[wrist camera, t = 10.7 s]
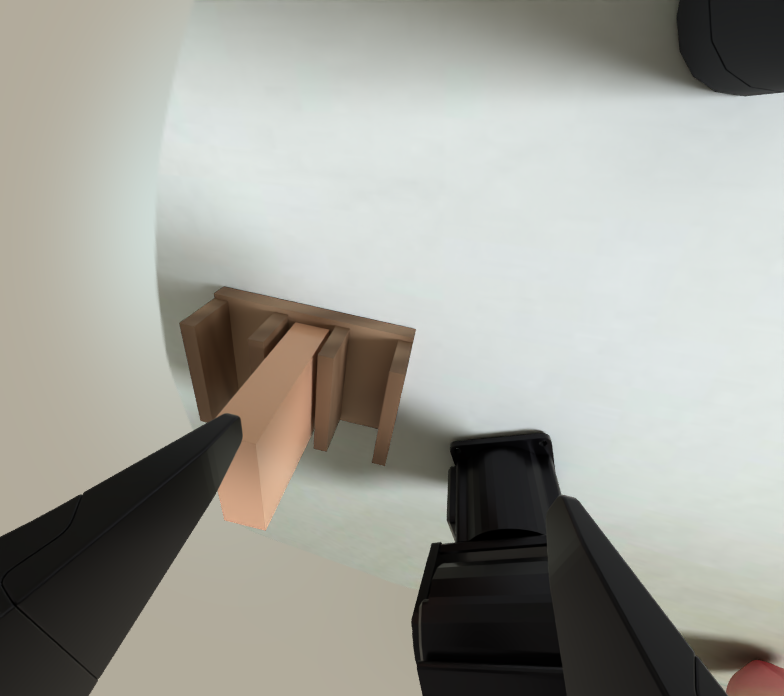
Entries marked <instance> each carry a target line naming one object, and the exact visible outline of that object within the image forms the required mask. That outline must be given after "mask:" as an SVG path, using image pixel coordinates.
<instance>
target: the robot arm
mask: <svg viewBox="0 0 784 696" xmlns="http://www.w3.org/2000/svg"><path fill="white" fill-rule="evenodd" d="M242 438H243V432H242V424H241V418H240V417H239V416H238V415H234V414H229V413H225V414H222V415H220V416H218V417H217V418H215V419H213V420H211V421H210V422H208V423H206V424H204V425H202V426H201V427H199V428H197V429H195V430H194V431H192V432H190V433H188V434H187V435H185V436H183V437H182V438H180V439H178V440H176V441H174V442H172V443H171V444H169V445H167V446H165V447H164V448H162V449H160V450H158V451H156V452H155V453H153V454H151V455H149V456H148V457H146V458H144V459H142V460H140V461H139V462H137V463H135V464H133V465H131V466H130V467H128V468H126V469H124V470H123V471H121V472H119V473H117V474H115V475H114V476H112V477H110V478H108V479H107V480H105V481H103V482H101V483H100V484H98V485H96V486H94V487H92V488H91V489H89V490H87V491H85V492H84V493H83V495H78V496H76V497H75V498H73V499H71V500H69V501H67V502H66V503H64V504H62V505H60V506H58V507H57V508H55V509H53V510H51V511H49V512H47V513H46V514H44V515H42V516H40V517H39V518H36V519H34V520H33V521H31V522H29V523H27V524H25V525H23V526H21V527H19V528H17V529H15V530H13V531H11V532H9V533H7V534H5V535H3V536H1V537H0V696H89V694H90V693H91V691H92V690H93V688H94V686H95V685H96V683H97V681H98V679H99V678H100V676H101V675H102V673H103V672H104V670H105V668H106V667H107V665H108V664H109V662H110V660H111V659H112V657H113V656H114V654H115V653H116V651H117V649H118V648H119V646H120V645H121V643H122V642H123V640H124V638H125V637H126V635H127V634H128V632H129V630H130V629H131V627H132V626H133V624H134V622H135V621H136V620H137V618H138V616H139V615H140V613H141V612H142V610H143V608H144V607H145V605H146V604H147V602H148V600H149V599H150V597H151V596H152V594H153V593H154V591H155V589H156V588H157V586H158V585H159V583H160V582H161V580H162V578H163V577H164V575H165V573H166V572H167V570H168V569H169V567H170V565H171V564H172V563H173V561H174V559H175V558H176V556H177V555H178V553H179V551H180V550H181V548H182V547H183V545H184V543H185V542H186V540H187V539H188V537H189V535H190V534H191V533H192V531H193V529H194V528H195V526H196V525H197V523H198V521H199V520H200V518H201V517H202V515H203V513H204V512H205V510H206V509H207V507H208V506H209V504H210V502H211V501H212V499H213V498H214V496H215V494H216V492H217V491H218V489H219V487H220V485H221V483H222V481H223V479H224V477H225V475H226V473H227V471H228V469H229V467H230V465H231V463H232V461H233V459H234V457H235V454H236V452H237V450H238V448H239V446H240V444H241V442H242ZM541 441H543V442H541ZM456 448H459V449H456ZM450 452H451V455H452V458H453V461H454V464H455V466H453V467H450V469H449V471H448V498H447V522H448V525H449V527H450V530H451V532H452V535H453V537H454V540H455V543H446V544H442V543H441V542H438V543H432V544H431V548H430V552H429V556H428V559H427V562H426V566H425V570H424V574H423V578H422V582H421V585H420V589H419V593H418V597H417V601H416V604H415V608H414V612H413V616H412V621H411V623H412V630H413V631H412V637H413V647H414V654H415V661H416V664H417V671H418V676H419V681H420V685H421V690H422V695H423V696H728V695H727V693H726V692H725V691H724V690H723V688H722V687H721V686H720V684H719V683H718V682H717V681H716V679H715V678H714V677H713V675H712V674H711V673H710V672H709V670H708V669H707V668H706V666H705V665H704V664H703V662H702V661H701V660H700V658H699V657H697V656H695V652H694V651H693V650H692V648H691V647H690V646H689V644H688V643H687V642H686V640H685V639H684V638H683V636H682V635H681V634H680V633H679V631H678V630H677V629H676V627H675V626H674V625H673V623H672V622H671V621H670V619H669V618H668V617H667V616H666V614H665V613H664V612H663V610H662V609H661V608H660V606H659V605H658V604H657V602H656V601H655V600H654V599H653V597H652V596H651V595H650V593H649V592H648V591H647V589H646V588H645V587H644V585H643V584H642V583H641V582H640V580H639V579H638V578H637V576H636V575H635V574H634V572H633V571H632V570H631V568H630V567H629V566H628V565H627V563H626V562H625V561H624V559H623V558H622V557H621V555H620V554H619V553H618V551H617V550H616V549H615V548H614V546H613V545H612V544H611V542H610V541H609V540H608V538H607V537H606V536H605V534H604V533H603V532H602V531H601V529H600V528H599V527H598V525H597V524H596V523H595V521H594V520H593V519H592V517H591V516H590V515H589V514H588V512H587V511H586V510H585V508H584V507H583V506H582V504H581V503H580V502H579V501H578V500H577V499H576V498H574V497H570V496H566V495H561V491H560V487H559V484H558V480H557V476H556V473H555V465H554V457H553V449H552V442H551V439H550V436H549V435H548V434H545V433H539V434H528V435H518V436H507V437H496V438H486V439H475V440H464V441H455V442H453V443H451V445H450Z"/></svg>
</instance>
